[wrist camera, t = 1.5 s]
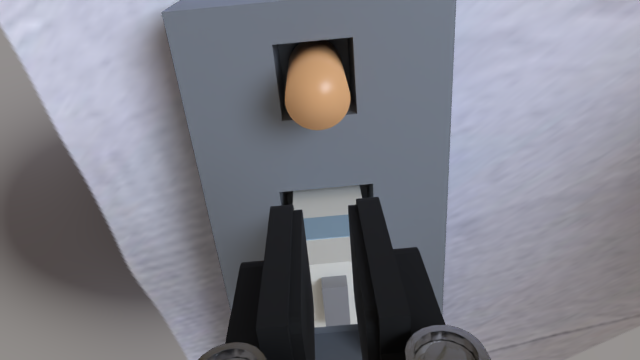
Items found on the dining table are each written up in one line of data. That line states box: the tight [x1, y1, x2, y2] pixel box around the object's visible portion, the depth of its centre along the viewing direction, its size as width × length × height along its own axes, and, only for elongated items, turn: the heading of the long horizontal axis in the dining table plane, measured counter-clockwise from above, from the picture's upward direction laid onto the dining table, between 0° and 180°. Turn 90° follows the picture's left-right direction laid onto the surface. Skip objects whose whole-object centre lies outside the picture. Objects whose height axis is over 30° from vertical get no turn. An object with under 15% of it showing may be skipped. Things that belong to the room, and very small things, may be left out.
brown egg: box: [285, 40, 350, 130], centre depth 25 cm, size 3×3×6 cm
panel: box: [162, 0, 456, 360], centre depth 31 cm, size 14×28×4 cm, turn 5°
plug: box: [293, 185, 362, 328], centre depth 28 cm, size 4×4×11 cm
